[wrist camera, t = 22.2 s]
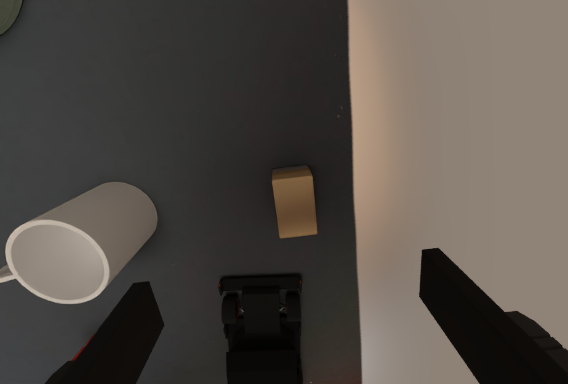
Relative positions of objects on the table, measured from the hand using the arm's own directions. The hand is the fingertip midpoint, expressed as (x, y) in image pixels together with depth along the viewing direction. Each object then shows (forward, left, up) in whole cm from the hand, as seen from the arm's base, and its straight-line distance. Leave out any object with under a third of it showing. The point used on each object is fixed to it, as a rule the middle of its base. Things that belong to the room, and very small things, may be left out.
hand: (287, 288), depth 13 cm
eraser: (0, +2, -19) cm, 19 cm away
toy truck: (+18, +15, -19) cm, 30 cm away
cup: (+18, -11, -19) cm, 29 cm away
